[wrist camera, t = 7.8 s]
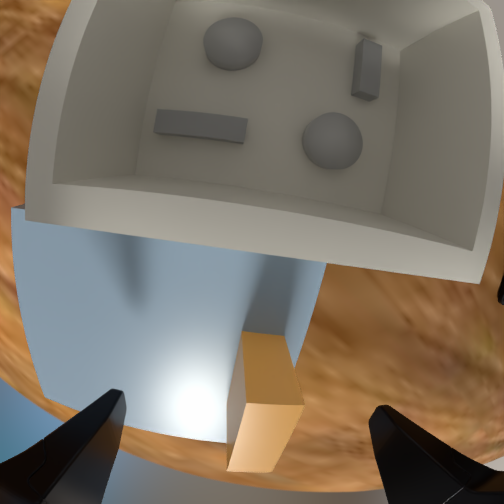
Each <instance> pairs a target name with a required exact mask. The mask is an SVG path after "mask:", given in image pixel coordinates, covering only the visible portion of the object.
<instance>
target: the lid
mask: <svg viewBox="0 0 504 504" xmlns="http://www.w3.org/2000/svg"><path fill="white" fill-rule="evenodd" d="M11 229H12V250H13V262H14V272H15V280H16V287H17V294H18V300H19V306H20V311H21V316H22V321H23V326H24V330H25V334H26V338H27V342H28V346H29V350H30V354H31V357H32V361H33V364H34V367H35V370H36V373H37V376H38V379H39V382H40V385H41V388H42V391H43V393H44V396H45V397H46V398H48V399H50V400H53V401H55V402H58V403H60V404H62V405H65V406H68V407H70V408H73V409H76V410H78V411H82V410H83V409H84V408H86V407H87V406H89V405H90V404H91V403H93V402H94V401H95V400H97V399H98V398H99V397H101V396H102V395H103V394H105V393H106V392H107V391H109V390H110V389H112V388H114V389H118V390H122V391H123V392H124V395H125V400H126V406H127V411H126V416H125V420H124V425H127V426H130V427H134V428H139V429H143V430H147V431H152V432H156V433H161V434H166V435H172V436H178V437H184V438H190V439H197V440H205V441H213V442H223V443H227V471H235V472H272V470H273V469H274V467H275V465H276V463H277V461H278V459H279V458H280V456H281V454H282V452H283V450H284V448H285V446H286V444H287V442H288V440H289V438H290V436H291V434H292V432H293V430H294V428H295V426H296V424H297V422H298V420H299V418H300V416H301V413H302V411H303V409H304V407H305V403H304V399H303V396H302V393H301V389H300V386H299V383H298V379H297V376H296V373H295V369H294V368H295V365H296V362H297V359H298V356H299V353H300V350H301V347H302V344H303V341H304V338H305V335H306V332H307V329H308V326H309V322H310V319H311V316H312V313H313V309H314V306H315V303H316V299H317V296H318V292H319V289H320V285H321V282H322V278H323V275H324V271H325V267H326V264H327V263H325V262H318V261H311V260H304V259H296V258H289V257H282V256H275V255H268V254H261V253H254V252H246V251H239V250H232V249H225V248H218V247H211V246H204V245H196V244H189V243H182V242H175V241H168V240H161V239H154V238H146V237H139V236H132V235H125V234H118V233H111V232H104V231H96V230H89V229H82V228H75V227H68V226H61V225H54V224H47V223H39V222H32V221H25V204H23V205H19V206H15V207H12V208H11Z"/></svg>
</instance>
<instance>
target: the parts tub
mask: <svg viewBox="0 0 504 504" xmlns="http://www.w3.org/2000/svg"><path fill="white" fill-rule="evenodd" d="M503 178H504V71H503V63H502V56H501V50H500V45H499V40H498V35H497V30H496V26H495V22H494V18H493V14H492V10H491V8H490V7H489V6H488V5H487V4H486V3H485V2H483V1H482V0H72V1H71V3H70V5H69V7H68V9H67V12H66V14H65V16H64V18H63V21H62V23H61V26H60V28H59V30H58V33H57V36H56V38H55V41H54V44H53V46H52V49H51V52H50V55H49V58H48V61H47V65H46V68H45V71H44V75H43V79H42V82H41V86H40V90H39V94H38V98H37V103H36V108H35V113H34V118H33V123H32V129H31V136H30V143H29V151H28V160H27V171H26V187H25V221H32V222H39V223H47V224H54V225H61V226H68V227H75V228H82V229H89V230H96V231H104V232H111V233H118V234H125V235H132V236H139V237H146V238H154V239H161V240H168V241H175V242H182V243H189V244H196V245H204V246H211V247H218V248H225V249H232V250H239V251H246V252H254V253H261V254H268V255H275V256H282V257H289V258H296V259H304V260H311V261H318V262H325V263H332V264H339V265H347V266H354V267H361V268H368V269H375V270H382V271H390V272H397V273H404V274H411V275H418V276H425V277H433V278H440V279H447V280H454V281H461V282H469V283H476V284H480V281H481V278H482V275H483V272H484V268H485V265H486V262H487V258H488V255H489V251H490V247H491V243H492V239H493V235H494V231H495V226H496V221H497V216H498V211H499V206H500V200H501V193H502V186H503Z"/></svg>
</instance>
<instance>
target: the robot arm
mask: <svg viewBox="0 0 504 504" xmlns="http://www.w3.org/2000/svg"><path fill="white" fill-rule="evenodd" d="M498 302H499V303H501V304H502V305H504V282H503V285H502V288H501V291H500V293H499V296H498ZM126 411H127V406H126V400H125V395H124V392H123V391H122V390H118V389H114V388H112V389H110V390H109V391H107V392H106V393H105V394H103V395H102V396H101V397H99V398H98V399H97V400H95V401H94V402H93V403H91V404H90V405H89V406H87V407H86V408H84V409H83V410H82V411H80V412H79V413H78V414H76V415H75V416H74V417H72V418H71V419H69V420H68V421H67V422H65V423H64V424H63V425H61V426H60V427H58V428H57V429H56V430H54V431H53V432H52V433H50V434H49V435H47V436H46V437H45V438H44V440H43V439H42V440H40V441H39V442H37V443H36V444H35V445H33V446H31V447H30V448H28V449H27V450H25V451H24V452H22V453H20V454H18V455H16V456H14V457H12V458H10V459H8V460H6V461H4V462H2V463H0V504H101V502H102V499H103V496H104V493H105V489H106V486H107V482H108V480H109V477H110V473H111V470H112V467H113V464H114V461H115V458H116V455H117V452H118V449H119V444H120V440H121V435H122V430H123V425H124V420H125V416H126ZM369 429H370V434H371V439H372V445H373V450H374V455H375V459H376V462H377V465H378V469H379V472H380V476H381V479H382V482H383V486H384V489H385V492H386V496H387V500H388V504H504V471H497V470H494V469H491V468H489V467H487V466H485V465H483V464H480V463H478V462H476V461H474V460H472V459H470V458H468V457H467V456H465V455H463V454H461V453H460V452H458V451H456V450H455V449H453V448H451V447H450V446H449V445H447V444H445V443H444V442H442V441H441V440H439V439H438V438H436V437H435V436H433V435H432V434H430V433H429V432H427V431H426V430H424V429H423V428H421V427H420V426H418V425H417V424H415V423H414V422H412V421H411V420H409V419H408V418H406V417H405V416H404V415H402V414H401V413H399V412H398V411H396V410H395V409H393V408H392V407H391V406H389V405H380V406H378V407H377V408H376V409H375V411H374V413H373V414H372V416H371V417H370V419H369Z"/></svg>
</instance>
